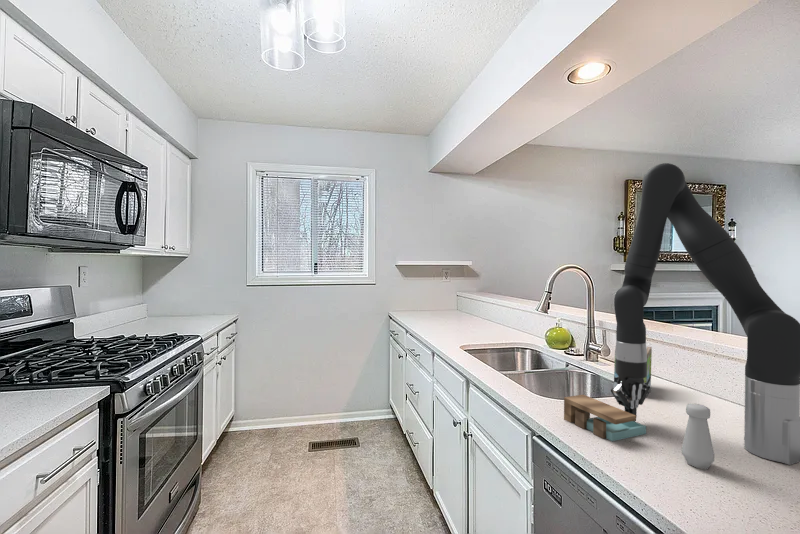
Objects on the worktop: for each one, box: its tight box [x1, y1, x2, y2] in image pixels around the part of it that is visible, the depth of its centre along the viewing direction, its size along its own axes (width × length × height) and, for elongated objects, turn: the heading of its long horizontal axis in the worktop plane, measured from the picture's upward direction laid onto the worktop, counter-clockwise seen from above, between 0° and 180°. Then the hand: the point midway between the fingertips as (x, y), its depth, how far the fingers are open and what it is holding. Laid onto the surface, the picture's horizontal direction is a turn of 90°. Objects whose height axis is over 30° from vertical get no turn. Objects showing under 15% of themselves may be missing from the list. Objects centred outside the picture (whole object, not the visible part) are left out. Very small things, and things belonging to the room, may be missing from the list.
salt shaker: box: [681, 403, 715, 470], centre depth 84 cm, size 6×6×13 cm
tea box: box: [613, 345, 653, 389], centre depth 135 cm, size 15×10×15 cm, turn 143°
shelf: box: [563, 394, 637, 440], centre depth 102 cm, size 16×7×6 cm, turn 21°
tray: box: [586, 416, 647, 442], centre depth 102 cm, size 9×12×2 cm
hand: (630, 420), depth 106 cm, fingers closed
